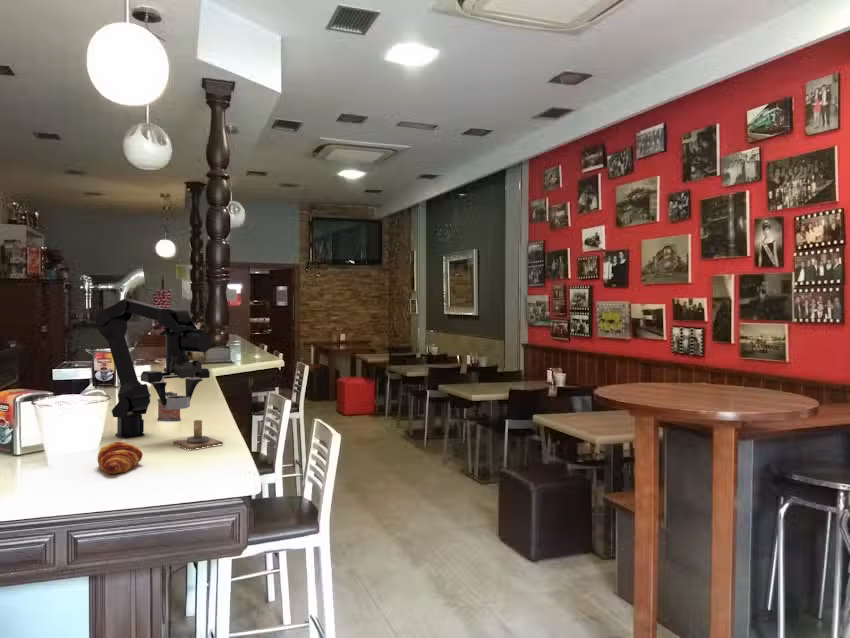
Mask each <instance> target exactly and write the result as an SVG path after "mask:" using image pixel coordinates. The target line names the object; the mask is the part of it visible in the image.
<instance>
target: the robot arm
mask: <svg viewBox="0 0 850 638" xmlns="http://www.w3.org/2000/svg"><path fill="white" fill-rule="evenodd" d="M134 315H135V316H139V317H144V318H147V319H150V320H154V321H155V322H156V323H158V325H160V326H162V327H164V329H163V330H162V331H161V332H159V336H163V337H165V354H163V358H164V359H165V367H164V368H163V372H162V371H159V370H143V371H142V373H141V374H140V381H139V379H138V377H137V374H136V369H135V365H134V364H133V363H134V362H133V359H132V356H131V353H130V350H129V346H128V343H127V340H126V334H127V332H128V331H127V330H128V322H129V321H130V320H132V319H133V317H134ZM190 315H191V314H190V313H189V310H187V309H185V308H169V307H165V308H164V307H162V306H158V305H154V304H151V303H147V302H144V301H140V300H139V301H138V300H137V299H133V298H123V299H121V300H119V301H118V302H117V303H114V304H113V305H111V306H109V307H107V308H105V309H104V310H103V311H100V312H99V313H98V314H97V315H96V318H95V320H94V321H95V326H96V327H97V329H98V332H99V334H100V336H102V337H103V338H104V339H105V340H106V342H107V343H108V347H109V349H110V350H109V351H110V353H111V357H112V360H113V364H114V367H115V371H116V373H117V378H118V380H119V385H120V386H119V391H118V394H117V397H118V402H117V404H116V405H115V406H114V407H113V408H112V409H111V414H112V417H113V418H116V419H117V421H116V423H117V424H116V425H117V426H116V427H117V430H116V431H117V432H116V433H114V436H116V437H119V438H122V439H125V438H126V439H127V438H134V437H142V436H145V433H144V430H145V429H144V426H145V424H144V423H145V421H144V419H143V415H146V414H147V411H148V408H149V405H150V403H151V396H152V395H151V394H150V391H149V386H148V385H147V383H148V384H150V385H151V384H152V386H153V388H154V390H155V391H156V393H157V395H158V397H159V398H160V400H161V402H162V405H165V403H166V395H165V392H166V386H167V384H168V383H167V382H166V381H165V379H178V378H179V379H185V382H184V383H185V396H189V397H190V401H191V399H192V397H193V395H194V391H195V389H196V387H197V385H198V384H199V383H200V382H203V380H204V379H210V378H211V371H210V370H209V368H208V367H207V368H206V367H203V366H202V364H203V363H202V361H201V360H200V359H198V360H197V359H196V360H193V361H190V357H189V354H187V352H189V353H206V352H208V351H209V350H210V348H211V343H212V339H211V338H210V336H209V334H208V333H207V329H205V328H198V327H197V326H196V324H195V323H194V321H193V319H192V317H191V316H190ZM141 382H145V383H143V384H142V383H141ZM159 398H158V399H159Z"/></svg>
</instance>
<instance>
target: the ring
mask: <svg viewBox="0 0 850 638" xmlns="http://www.w3.org/2000/svg"><path fill="white" fill-rule="evenodd" d="M190 407H191V400H190V397H189V396H186V395H177V396H166V403H165V405H162V408H164V409H180V410H183V409H188V408H190Z"/></svg>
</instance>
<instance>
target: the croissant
mask: <svg viewBox="0 0 850 638" xmlns="http://www.w3.org/2000/svg"><path fill="white" fill-rule="evenodd" d="M142 459H143V451H142V450H141V449H140V448H139V447H138V446H136V445H134V444H131V443H128V442H125V441H115V442H111V443H109V444H107V445H105V446H102V447H101V448H100V450H99V452H98V453H97V463H98V467H99V469H100V470H101V471H104V472H105V473H106V474H108V475H109V474H110V475H113V474H121V473H125V472H128V471H129V469H130V470H132V469H134V468H135V467H136V466H137V464H138V463H139V462H141V460H142Z"/></svg>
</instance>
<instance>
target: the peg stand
mask: <svg viewBox="0 0 850 638" xmlns="http://www.w3.org/2000/svg"><path fill="white" fill-rule="evenodd" d="M172 442H173V443H172V444H174V445H173V446H175V445H177V446H176V447H178V446H180V447H179V448H181V447H183V448H182V449H184V448H186V449H189V450H190V449H196V448H202V447H207V446H213V445H218V444H223V441H222V440H218V439H216V438H215V439H214V438H212V437H209V436H208V435H207V436H206V435H203V420H202V419H196V420H194V421H193V436H189V437H187V438H186V439H180V440H174V441H172ZM223 445H224V444H223ZM186 449H185V450H186ZM202 449H203V448H202ZM189 450H188V451H189ZM196 450H197V449H196ZM190 451H191V450H190Z"/></svg>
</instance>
